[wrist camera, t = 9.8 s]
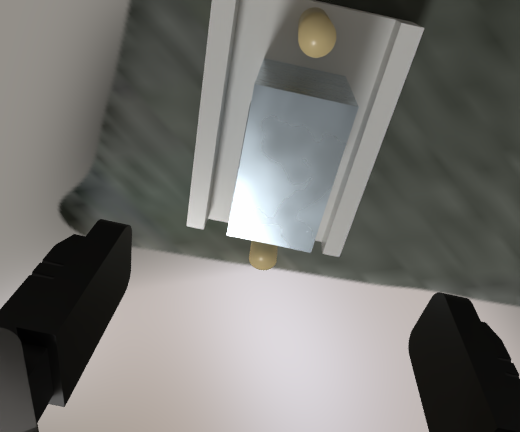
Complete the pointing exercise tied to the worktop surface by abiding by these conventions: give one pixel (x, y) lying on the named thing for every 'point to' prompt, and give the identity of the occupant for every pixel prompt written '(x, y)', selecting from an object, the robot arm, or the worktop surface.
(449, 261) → the worktop surface
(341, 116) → the block
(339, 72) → the white peg stand
